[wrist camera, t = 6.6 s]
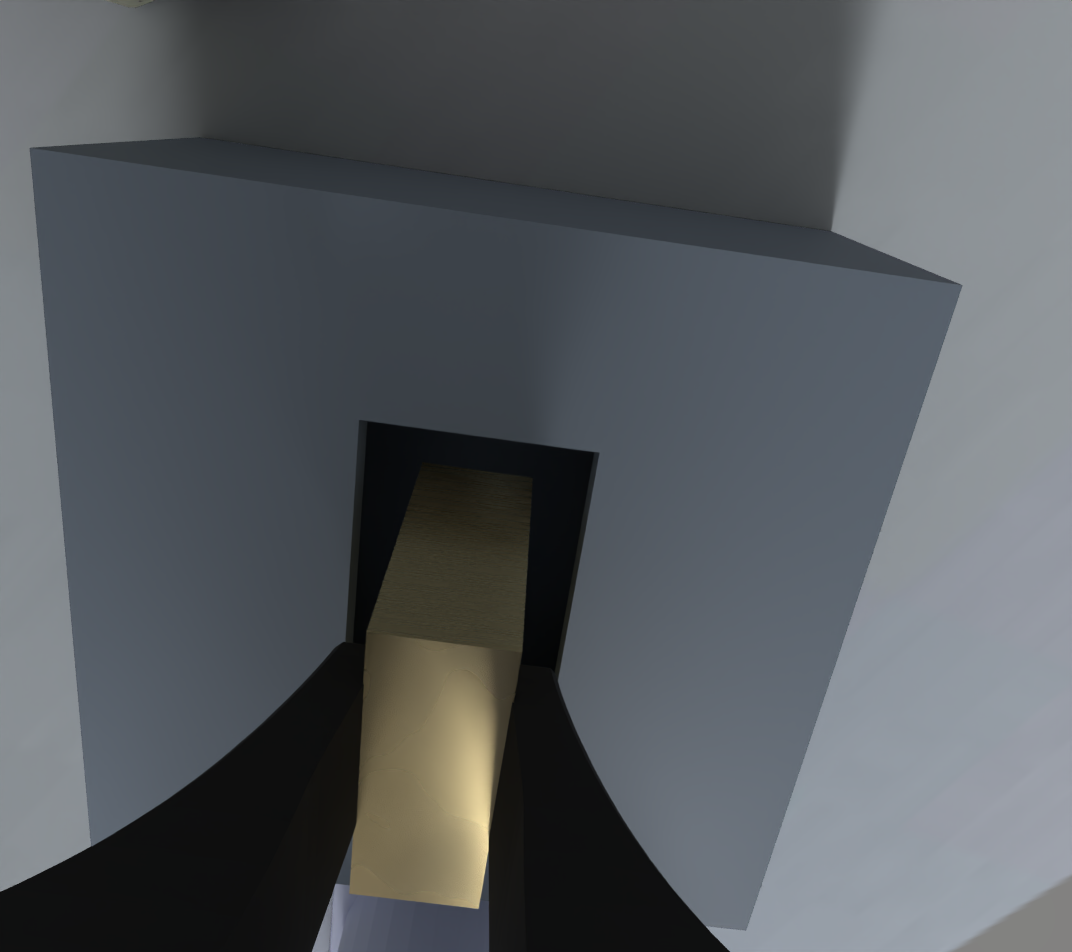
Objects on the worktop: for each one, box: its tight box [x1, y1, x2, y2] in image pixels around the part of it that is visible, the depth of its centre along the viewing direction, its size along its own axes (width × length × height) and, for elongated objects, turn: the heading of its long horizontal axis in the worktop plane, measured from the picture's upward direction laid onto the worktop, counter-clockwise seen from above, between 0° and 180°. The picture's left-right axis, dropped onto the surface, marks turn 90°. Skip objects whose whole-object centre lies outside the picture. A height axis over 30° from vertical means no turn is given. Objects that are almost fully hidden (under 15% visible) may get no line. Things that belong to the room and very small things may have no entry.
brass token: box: [349, 462, 533, 909], centre depth 14 cm, size 5×2×5 cm, turn 172°
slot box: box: [30, 137, 962, 931], centre depth 18 cm, size 14×14×6 cm
